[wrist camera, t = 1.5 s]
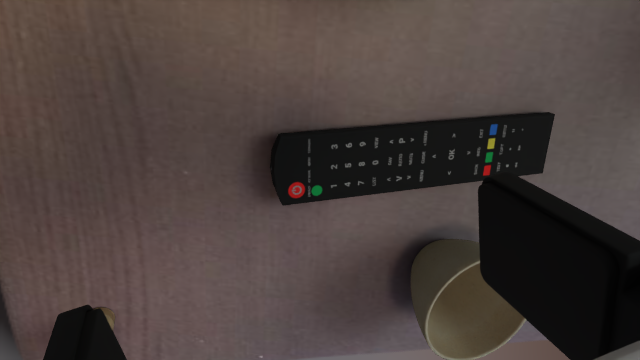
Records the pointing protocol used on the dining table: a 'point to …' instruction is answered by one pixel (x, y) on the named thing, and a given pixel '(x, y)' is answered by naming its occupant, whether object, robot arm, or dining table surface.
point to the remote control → (406, 156)
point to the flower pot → (459, 302)
